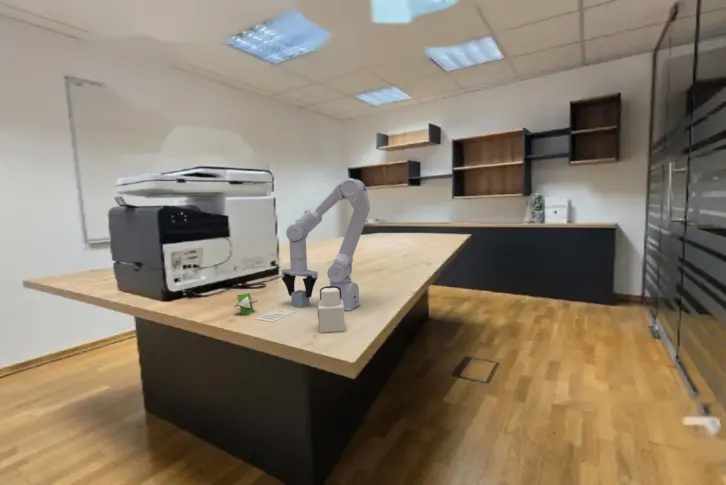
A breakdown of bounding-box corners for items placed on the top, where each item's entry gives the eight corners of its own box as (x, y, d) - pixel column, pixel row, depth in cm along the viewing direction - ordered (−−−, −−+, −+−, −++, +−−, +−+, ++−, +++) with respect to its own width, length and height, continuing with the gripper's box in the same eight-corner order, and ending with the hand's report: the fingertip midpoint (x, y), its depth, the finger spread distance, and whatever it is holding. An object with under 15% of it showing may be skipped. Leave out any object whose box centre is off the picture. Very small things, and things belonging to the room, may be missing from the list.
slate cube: (309, 304, 131) (309, 291, 131) (302, 307, 127) (301, 293, 127) (299, 303, 133) (299, 290, 133) (291, 306, 130) (291, 292, 129)
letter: (297, 311, 123) (297, 311, 123) (272, 322, 113) (272, 321, 113) (278, 308, 127) (278, 308, 127) (253, 318, 116) (253, 318, 116)
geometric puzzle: (230, 305, 125) (233, 289, 121) (249, 301, 129) (253, 286, 125) (237, 321, 121) (241, 305, 117) (256, 317, 125) (261, 301, 121)
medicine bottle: (319, 324, 109) (318, 285, 107) (343, 323, 109) (342, 283, 108) (319, 333, 101) (317, 290, 100) (344, 331, 102) (343, 289, 101)
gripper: (274, 259, 129) (276, 296, 130) (308, 261, 122) (310, 301, 123) (287, 256, 135) (289, 292, 136) (320, 258, 128) (321, 296, 129)
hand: (300, 296), depth 130 cm, fingers open, 7 cm apart
